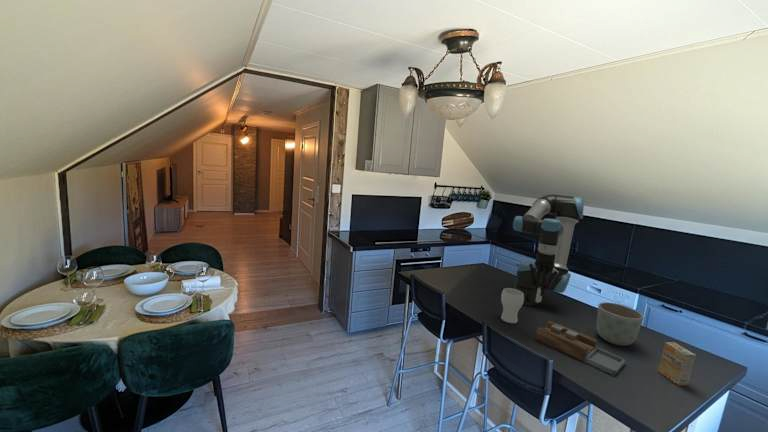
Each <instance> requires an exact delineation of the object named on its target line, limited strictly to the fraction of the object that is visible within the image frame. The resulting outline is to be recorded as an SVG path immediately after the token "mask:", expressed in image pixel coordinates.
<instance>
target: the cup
mask: <svg viewBox="0 0 768 432" xmlns="http://www.w3.org/2000/svg"><path fill="white" fill-rule="evenodd" d="M500 300H501V304H502V313H501V317H500V319H501V320H502V321H503V322H505V323H509V324H517V323H518V313H519V310H520V309H521V308H522V307H523V306H524V305H523V302H524V294H523V292H521V291H519V290H517V289H513V288H511V287H506V288H503V290H502V292H501V296H500Z"/></svg>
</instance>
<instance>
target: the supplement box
mask: <svg viewBox="0 0 768 432" xmlns="http://www.w3.org/2000/svg"><path fill="white" fill-rule="evenodd" d="M696 357H697V354H695V353H694V352H692V351H690V350H688V349H687V348H685V347H684V346H682V345H680V344H679V343H677V342H675V341H674V342H671V341H669V342H668V341H667V342H666V341H665V343H664V347H663V349H662V355H661V358H660V363H659V366H658V368H657V369H658V370H657V372H658V373H659V372H660V374H661V375H662V374H663V375H662V376H664V377H665V376H666V377H665V378H667V379H668V378H669V379H668V380H670V381H671V382H672V381H673V382H672V383H673V384H675V383H676V384H677V385H676V384H675V385H676V386H689V383H690V378H691V375H692V371H693V368H694V363H695V360H696Z"/></svg>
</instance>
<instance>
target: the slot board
mask: <svg viewBox="0 0 768 432" xmlns="http://www.w3.org/2000/svg"><path fill="white" fill-rule="evenodd" d="M554 324H557V325H559V326H561V327H564V332H563V336H560V335H558V334H556V333H553V332H551V326H552V325H554ZM568 330H571V331H574V332H576V333H579V335H578V340H577V342H574V341H572V340H570V339H567V338H565V332H566V331H568ZM535 334H536V335H535V340H536V341H538V342H541V343H542V344H543V345H544V344H545V345H547V346H549V347H551V348H553V349H555V350H557V351H559V352H562V353H564V354H567V355H568V356H570V357H573V358H575V359H576V360H577V359H578V361H579V360H580V361H581V362H583V363H585V362H584V358H585V356H587V355H588V354H589V353H590V352H591V351H592V350H593V349H594V348H595V347H597V344H598V339H596V338H593V337H591V336H588V335H585V334H583V333H581V332H579V331H576V330H573V329H571V328H569V327H566V326H564V325H561V324H559V323H557V322H554V321H551V320H548V321H547V324H546V327H542V326H539V327H537V329H536V333H535Z"/></svg>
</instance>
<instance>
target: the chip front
mask: <svg viewBox="0 0 768 432" xmlns="http://www.w3.org/2000/svg"><path fill="white" fill-rule="evenodd" d="M571 330H572V329H571ZM571 330H568V331H566V332H565V338H567V339H570V340H572V341H574V342H577V340H578V335H579V333H580V332H579V333H576V332H577V331H576V332H574V331H575V330H574V331H571Z"/></svg>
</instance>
